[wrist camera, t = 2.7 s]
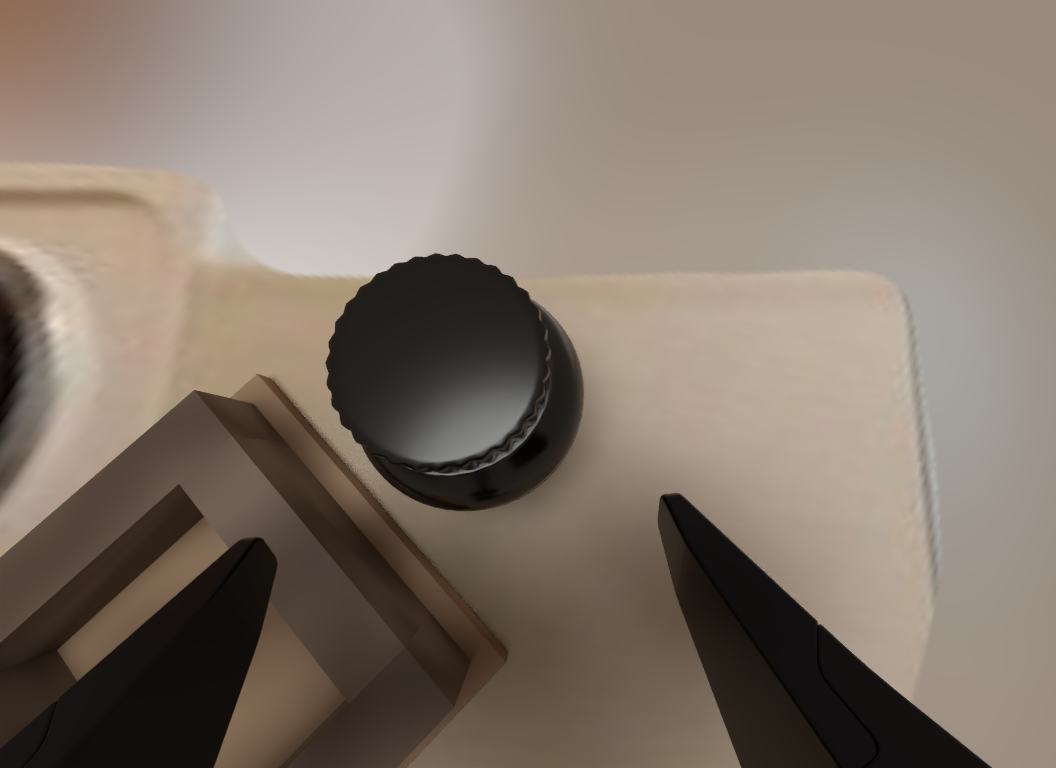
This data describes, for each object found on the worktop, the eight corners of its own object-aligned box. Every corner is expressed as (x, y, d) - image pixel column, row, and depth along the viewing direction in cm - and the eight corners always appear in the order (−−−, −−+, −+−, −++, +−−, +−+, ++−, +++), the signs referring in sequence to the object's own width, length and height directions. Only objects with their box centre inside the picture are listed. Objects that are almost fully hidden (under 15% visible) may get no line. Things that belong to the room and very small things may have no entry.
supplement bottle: (599, 422, 21) (675, 358, 9) (496, 529, 20) (427, 616, 8) (497, 326, 22) (444, 154, 10) (396, 423, 21) (207, 362, 9)
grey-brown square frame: (507, 652, 19) (497, 708, 14) (191, 985, 17) (66, 1170, 12) (270, 378, 21) (200, 354, 17) (-25, 638, 20) (-190, 687, 15)
